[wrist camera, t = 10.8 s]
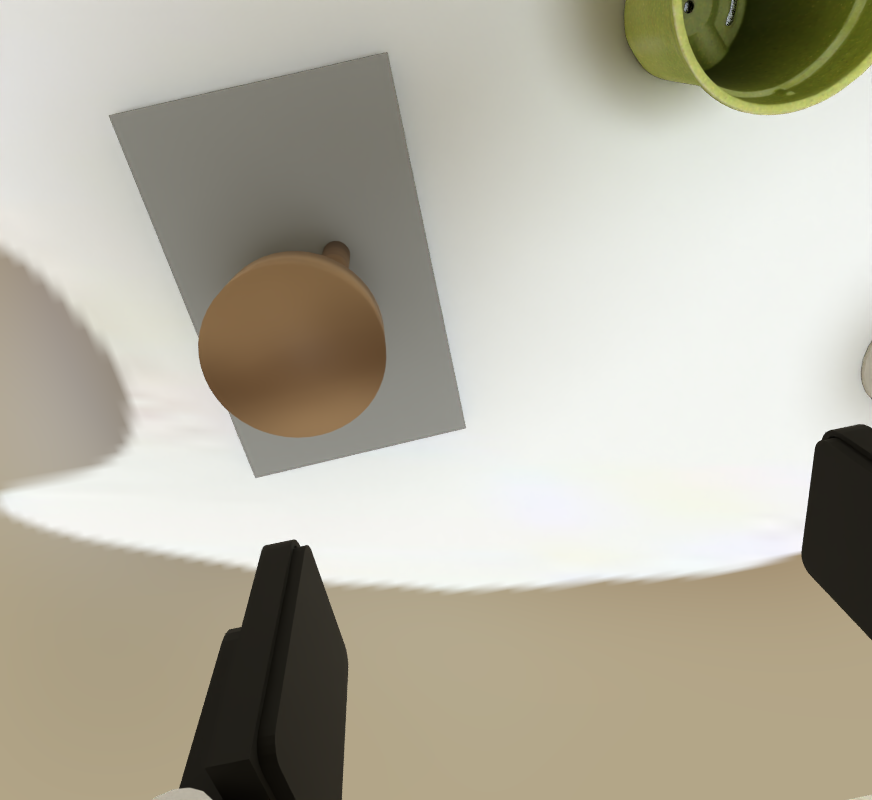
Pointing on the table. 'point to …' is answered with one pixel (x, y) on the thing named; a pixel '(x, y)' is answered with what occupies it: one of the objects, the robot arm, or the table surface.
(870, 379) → the wineglass
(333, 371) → the stool
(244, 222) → the mat
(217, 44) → the table surface
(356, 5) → the table surface
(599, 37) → the table surface
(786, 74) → the plant pot
